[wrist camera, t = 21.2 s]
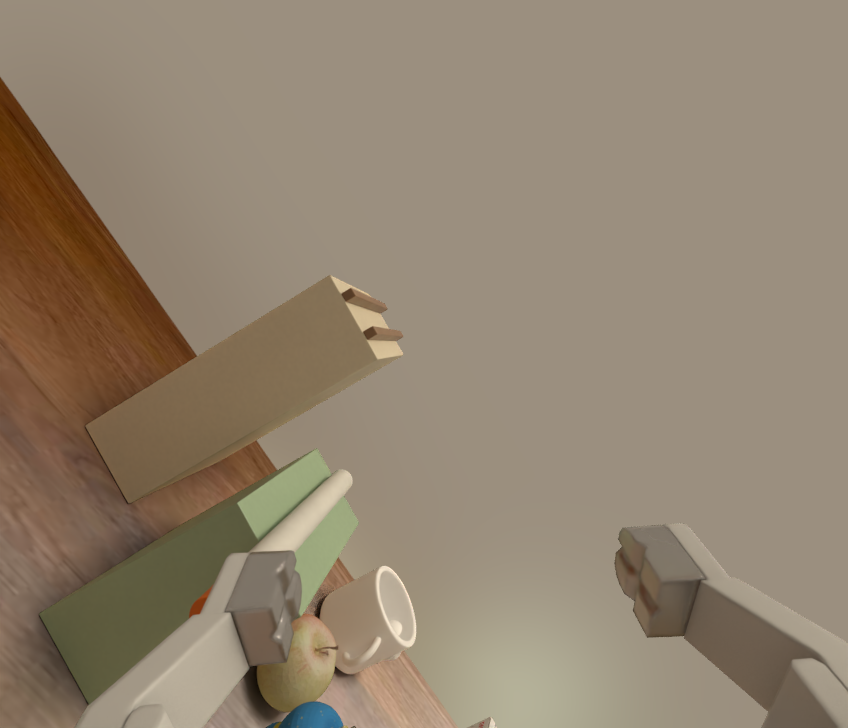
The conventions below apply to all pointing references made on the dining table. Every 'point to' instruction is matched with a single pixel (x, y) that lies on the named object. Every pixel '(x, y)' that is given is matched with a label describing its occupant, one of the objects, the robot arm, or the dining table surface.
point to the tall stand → (245, 387)
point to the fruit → (300, 667)
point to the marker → (298, 522)
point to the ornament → (311, 717)
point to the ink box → (485, 724)
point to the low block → (188, 575)
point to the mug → (369, 620)
